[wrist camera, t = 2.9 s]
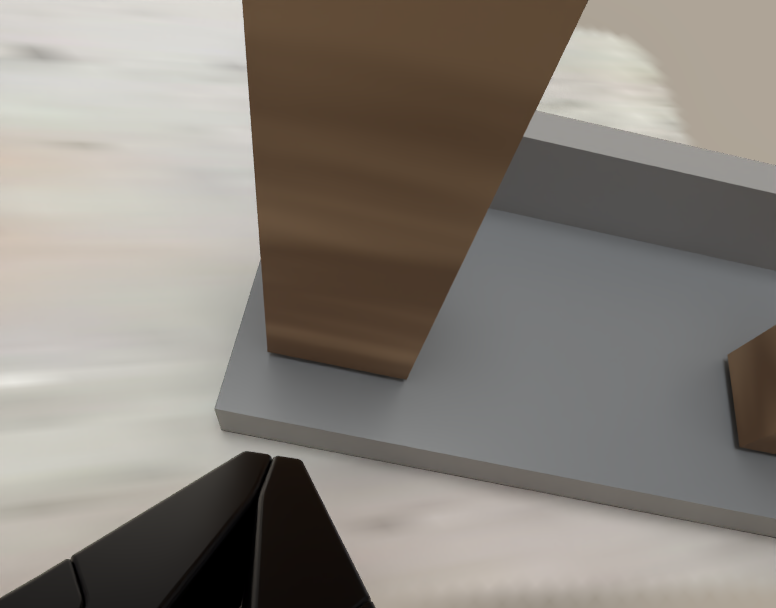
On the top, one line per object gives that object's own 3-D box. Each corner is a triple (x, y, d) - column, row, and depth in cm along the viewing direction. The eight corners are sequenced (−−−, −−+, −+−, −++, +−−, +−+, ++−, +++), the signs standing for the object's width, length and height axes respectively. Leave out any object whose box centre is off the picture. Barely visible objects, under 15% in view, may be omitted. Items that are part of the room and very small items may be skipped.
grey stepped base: (849, 551, 19) (1037, 526, 14) (221, 429, 18) (197, 358, 13) (794, 284, 24) (921, 198, 19) (297, 176, 23) (299, 56, 18)
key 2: (406, 379, 17) (591, -5, 7) (267, 351, 17) (235, -90, 7) (420, 290, 19) (588, -141, 8) (291, 262, 18) (298, -213, 8)
